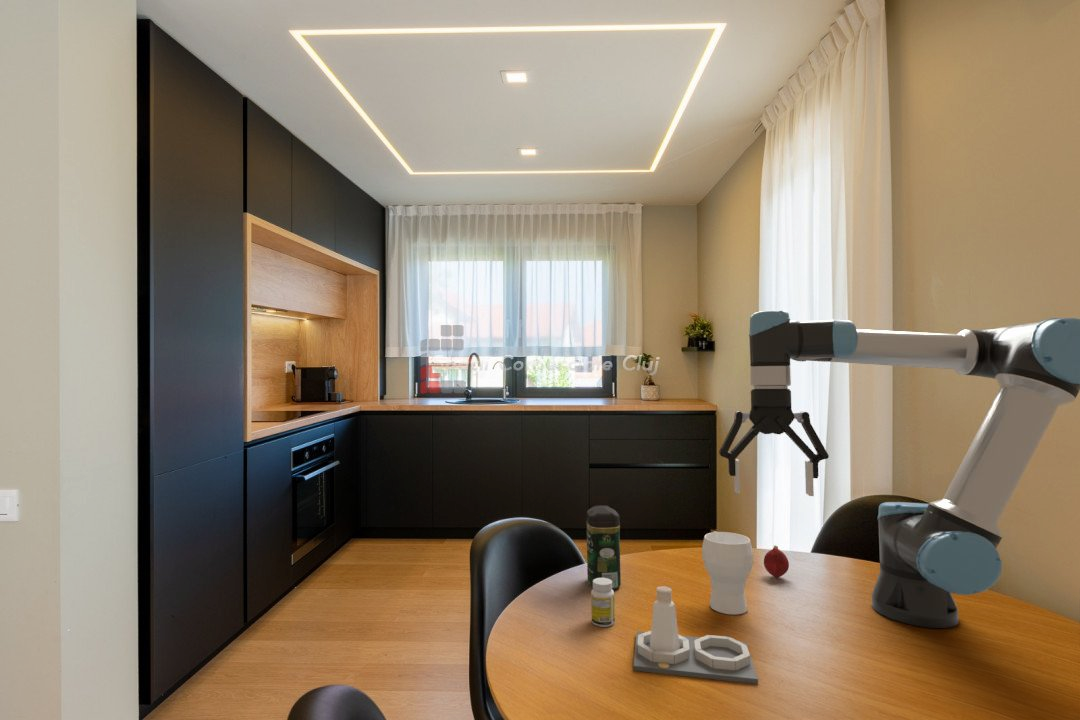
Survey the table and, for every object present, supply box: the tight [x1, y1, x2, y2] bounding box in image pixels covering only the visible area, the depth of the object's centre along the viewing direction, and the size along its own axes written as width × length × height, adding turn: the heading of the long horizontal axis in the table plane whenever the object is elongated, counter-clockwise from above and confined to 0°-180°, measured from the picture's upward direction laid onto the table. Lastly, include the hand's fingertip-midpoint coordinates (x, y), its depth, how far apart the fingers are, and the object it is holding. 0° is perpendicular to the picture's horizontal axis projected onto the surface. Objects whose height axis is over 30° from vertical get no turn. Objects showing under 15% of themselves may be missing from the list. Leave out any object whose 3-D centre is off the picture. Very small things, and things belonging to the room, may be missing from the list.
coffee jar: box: [586, 505, 622, 591], centre depth 132 cm, size 10×8×19 cm
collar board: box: [633, 630, 759, 685], centre depth 96 cm, size 20×13×2 cm, turn 78°
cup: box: [701, 531, 754, 615], centre depth 118 cm, size 11×11×15 cm
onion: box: [763, 544, 790, 579], centre depth 135 cm, size 6×6×8 cm
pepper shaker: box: [650, 585, 680, 652], centre depth 98 cm, size 5×5×11 cm
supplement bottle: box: [590, 578, 616, 628], centre depth 111 cm, size 5×5×8 cm
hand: (773, 493), depth 108 cm, fingers open, 13 cm apart
